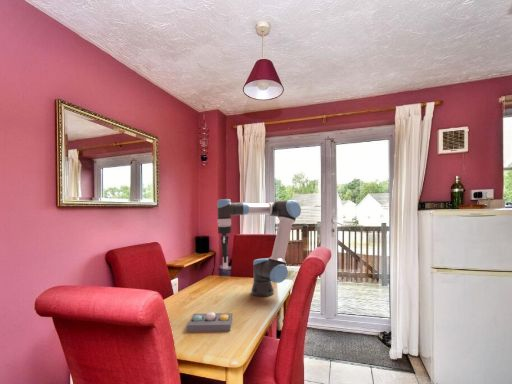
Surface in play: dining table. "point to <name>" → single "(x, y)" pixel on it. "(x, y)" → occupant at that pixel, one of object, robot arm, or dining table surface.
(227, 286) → the dining table surface
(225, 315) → the button ochre
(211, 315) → the button white
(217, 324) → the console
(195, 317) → the button teal
